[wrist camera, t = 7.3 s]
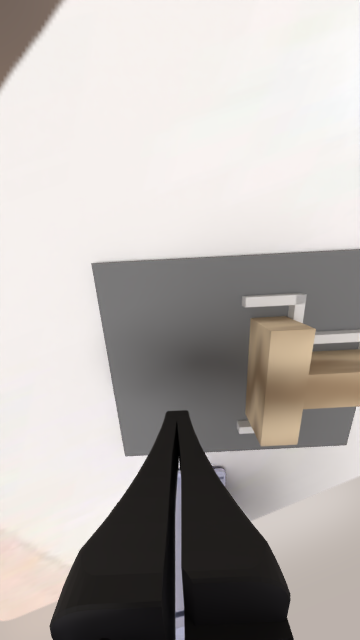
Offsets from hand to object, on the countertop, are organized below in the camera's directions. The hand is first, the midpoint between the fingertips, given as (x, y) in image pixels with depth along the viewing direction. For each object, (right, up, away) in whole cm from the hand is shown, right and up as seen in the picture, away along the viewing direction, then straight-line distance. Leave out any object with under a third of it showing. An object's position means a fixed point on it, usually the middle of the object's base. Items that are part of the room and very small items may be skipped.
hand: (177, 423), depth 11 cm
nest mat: (+6, +2, +6) cm, 8 cm away
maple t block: (+11, +2, +6) cm, 13 cm away
